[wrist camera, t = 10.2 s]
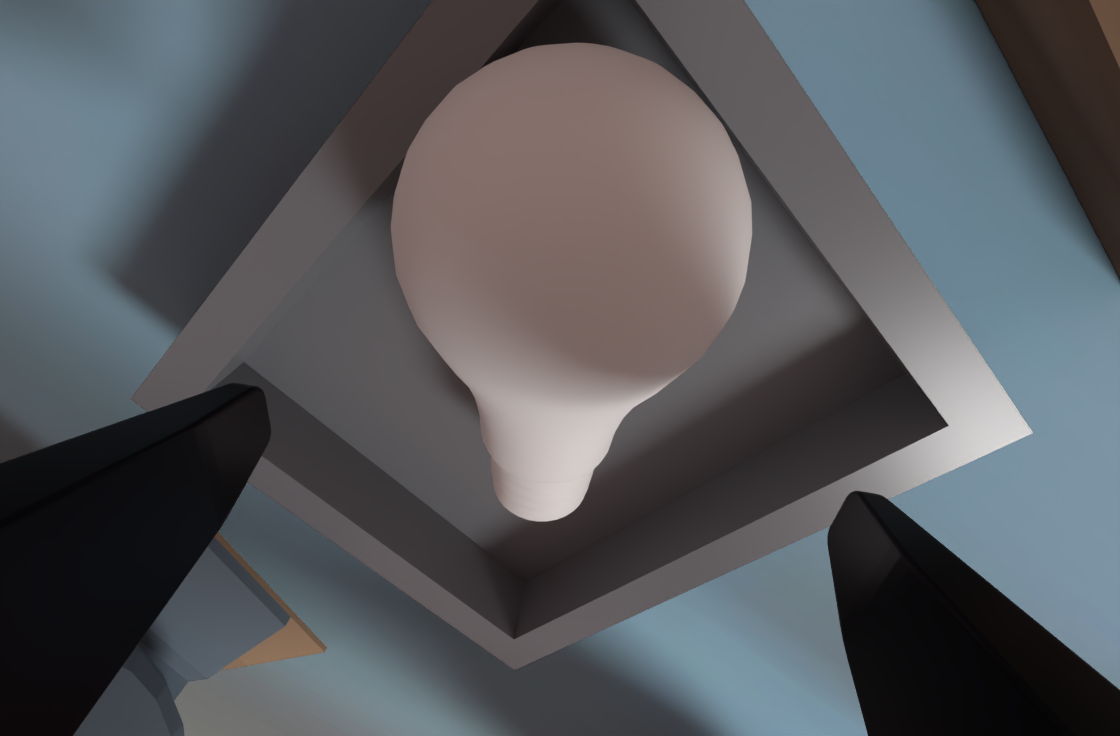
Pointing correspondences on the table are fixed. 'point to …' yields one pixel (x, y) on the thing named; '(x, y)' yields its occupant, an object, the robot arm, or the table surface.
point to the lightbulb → (568, 252)
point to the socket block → (1071, 92)
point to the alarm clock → (199, 644)
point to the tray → (650, 427)
